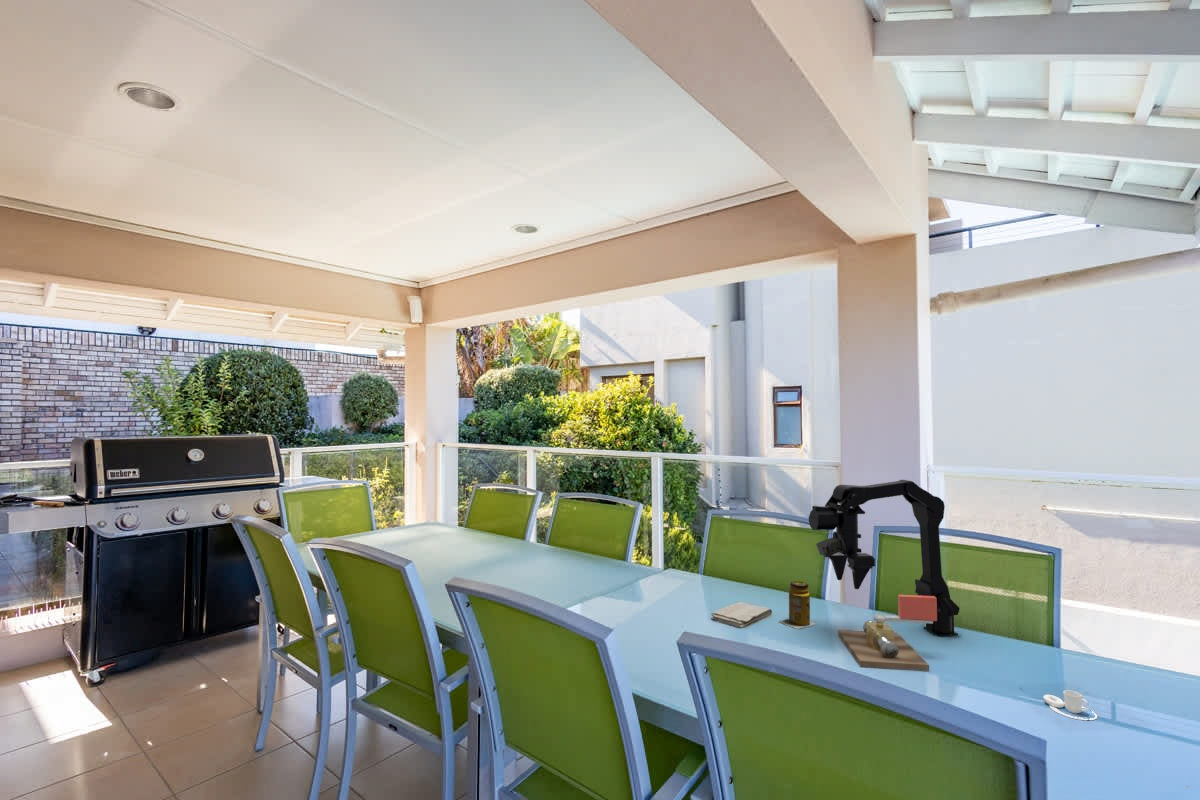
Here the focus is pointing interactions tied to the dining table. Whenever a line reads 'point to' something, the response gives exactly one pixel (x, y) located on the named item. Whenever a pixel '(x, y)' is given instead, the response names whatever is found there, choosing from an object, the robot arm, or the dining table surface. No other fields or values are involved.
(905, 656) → the mounting board
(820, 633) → the dining table surface
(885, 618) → the valve lever
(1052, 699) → the teacup and saucer
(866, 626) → the ball valve
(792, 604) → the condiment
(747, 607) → the washcloth
